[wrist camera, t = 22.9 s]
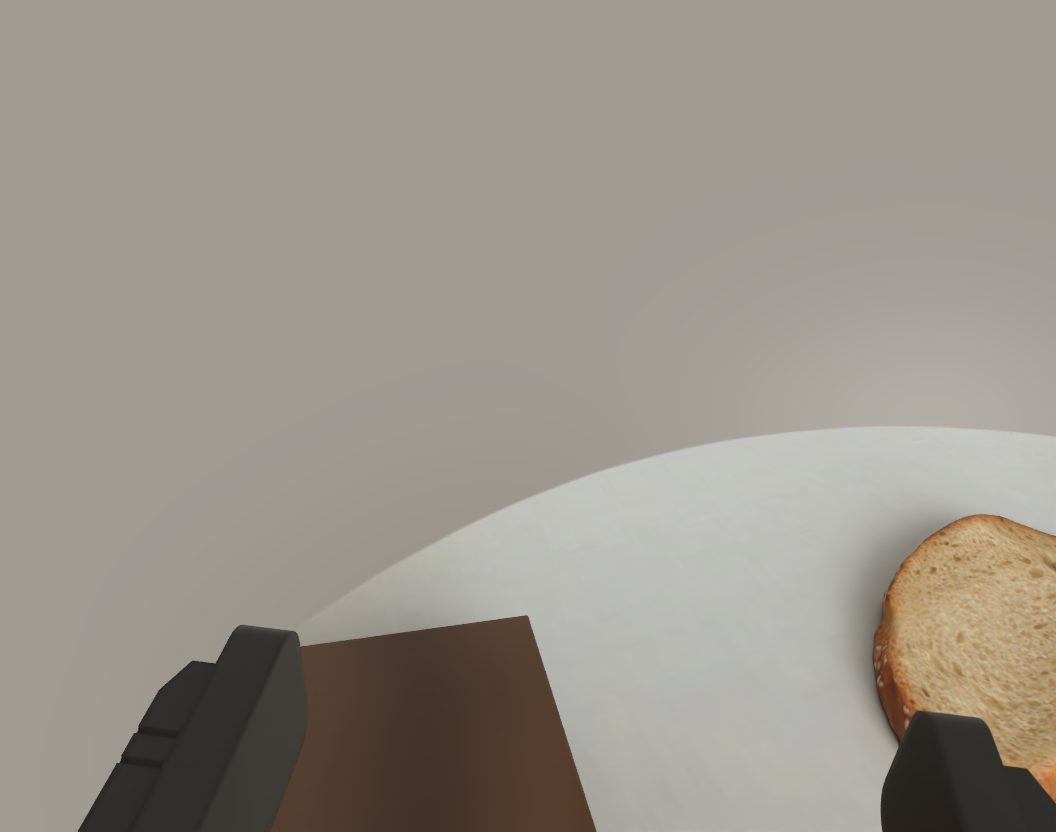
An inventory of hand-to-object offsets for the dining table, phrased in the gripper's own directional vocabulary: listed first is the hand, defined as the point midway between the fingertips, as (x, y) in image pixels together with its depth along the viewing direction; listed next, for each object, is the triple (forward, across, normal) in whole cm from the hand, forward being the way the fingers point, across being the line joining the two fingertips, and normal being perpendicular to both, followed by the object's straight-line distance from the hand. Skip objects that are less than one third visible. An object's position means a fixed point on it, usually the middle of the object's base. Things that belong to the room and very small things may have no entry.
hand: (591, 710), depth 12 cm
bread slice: (+27, -22, +26) cm, 44 cm away
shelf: (+12, +6, +25) cm, 29 cm away
